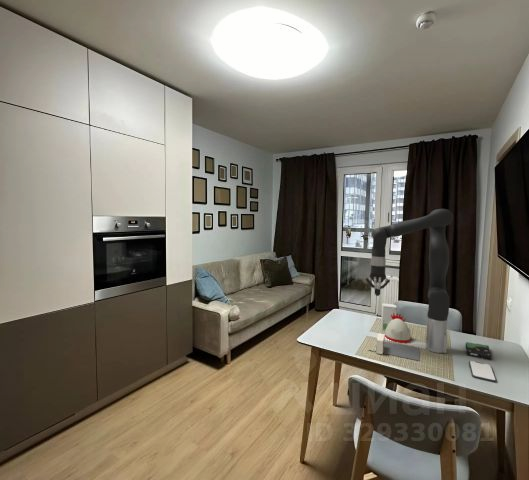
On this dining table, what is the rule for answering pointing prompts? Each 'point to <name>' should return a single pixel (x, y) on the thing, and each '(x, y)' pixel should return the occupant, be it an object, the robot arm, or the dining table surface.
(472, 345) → the disk drive
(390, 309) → the skincare box
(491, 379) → the phone case
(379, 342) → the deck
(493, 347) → the dining table surface
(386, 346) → the mat
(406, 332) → the kitchen timer
